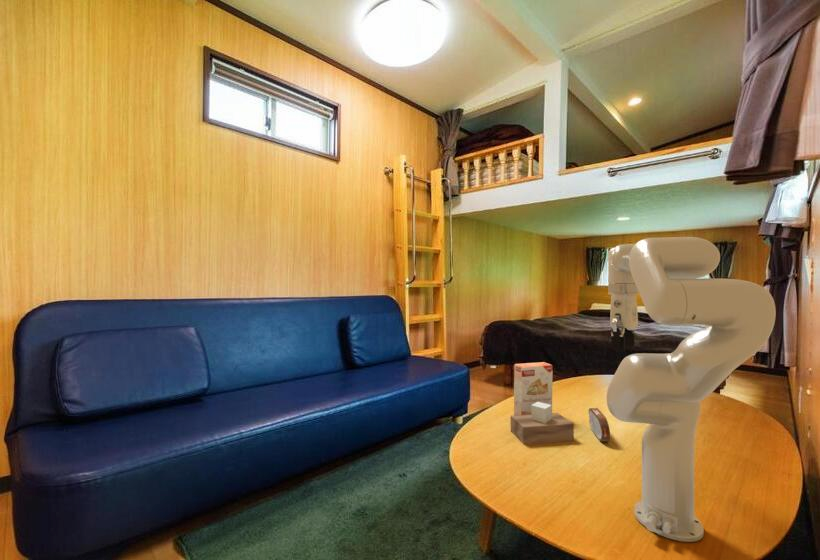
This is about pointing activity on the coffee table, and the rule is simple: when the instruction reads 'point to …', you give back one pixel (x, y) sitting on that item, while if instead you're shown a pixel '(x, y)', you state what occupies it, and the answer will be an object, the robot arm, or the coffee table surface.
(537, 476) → the coffee table surface
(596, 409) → the tin
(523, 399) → the cracker box
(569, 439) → the walnut block
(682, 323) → the robot arm
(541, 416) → the white cube
